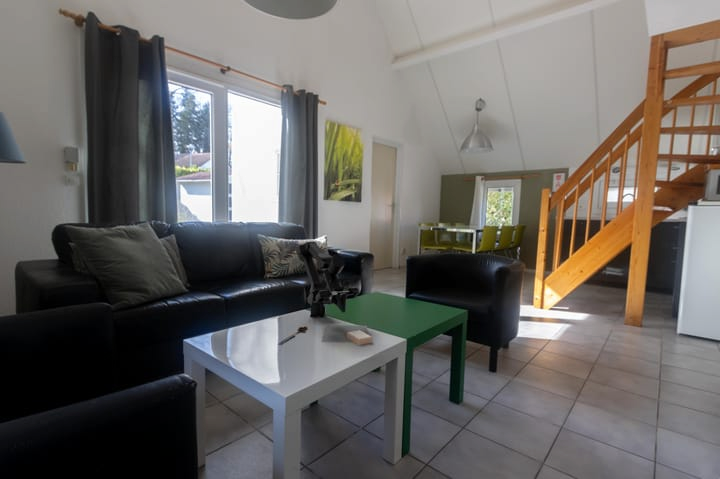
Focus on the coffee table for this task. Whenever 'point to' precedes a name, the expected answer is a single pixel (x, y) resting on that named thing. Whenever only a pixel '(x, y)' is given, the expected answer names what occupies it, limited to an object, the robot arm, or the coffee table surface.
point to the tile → (359, 337)
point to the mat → (340, 332)
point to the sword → (300, 329)
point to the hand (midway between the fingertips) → (343, 312)
